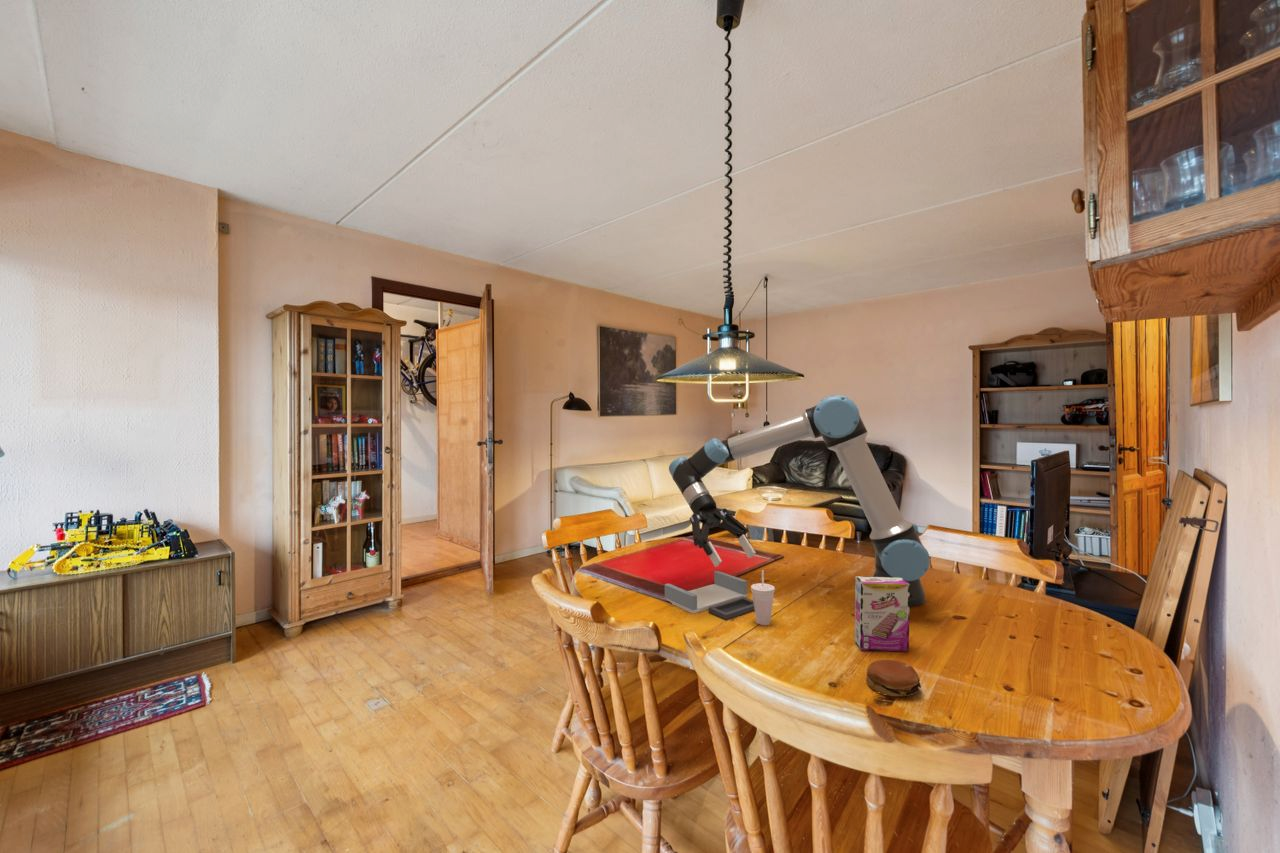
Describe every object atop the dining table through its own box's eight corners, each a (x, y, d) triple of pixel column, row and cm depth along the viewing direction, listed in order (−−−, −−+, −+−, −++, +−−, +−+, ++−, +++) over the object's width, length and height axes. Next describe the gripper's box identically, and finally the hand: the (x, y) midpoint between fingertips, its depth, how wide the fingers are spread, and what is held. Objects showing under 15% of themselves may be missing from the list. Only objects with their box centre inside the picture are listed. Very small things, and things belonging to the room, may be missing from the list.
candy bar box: (861, 651, 119) (860, 582, 119) (854, 642, 124) (853, 575, 124) (910, 653, 118) (910, 583, 117) (902, 643, 123) (901, 576, 122)
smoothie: (776, 619, 139) (775, 568, 138) (774, 628, 132) (773, 575, 132) (752, 616, 141) (751, 566, 140) (749, 625, 135) (749, 573, 134)
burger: (857, 685, 104) (857, 662, 104) (882, 671, 110) (882, 650, 110) (905, 707, 96) (905, 683, 96) (929, 691, 102) (929, 668, 102)
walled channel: (747, 596, 156) (747, 580, 156) (693, 613, 143) (692, 596, 143) (717, 585, 167) (717, 570, 167) (664, 600, 154) (664, 584, 154)
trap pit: (760, 608, 146) (760, 603, 146) (726, 620, 138) (726, 615, 138) (742, 601, 152) (742, 596, 152) (708, 612, 144) (708, 607, 144)
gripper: (723, 503, 165) (758, 559, 153) (662, 512, 151) (696, 575, 139) (734, 489, 161) (772, 545, 149) (673, 497, 147) (709, 560, 135)
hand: (736, 559), depth 144 cm, fingers open, 13 cm apart
